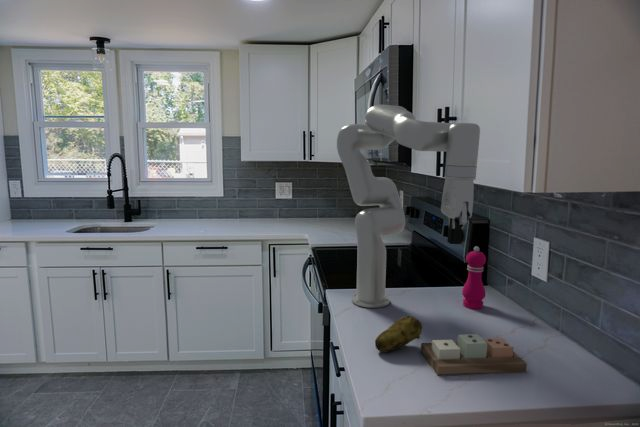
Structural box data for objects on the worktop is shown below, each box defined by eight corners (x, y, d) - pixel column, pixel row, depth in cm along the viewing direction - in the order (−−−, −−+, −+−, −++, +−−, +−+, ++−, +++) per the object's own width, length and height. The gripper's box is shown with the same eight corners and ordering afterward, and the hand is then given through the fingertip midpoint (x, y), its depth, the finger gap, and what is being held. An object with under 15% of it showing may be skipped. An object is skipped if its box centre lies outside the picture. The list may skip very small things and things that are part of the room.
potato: (369, 342, 113) (369, 313, 111) (415, 339, 114) (416, 311, 113) (377, 357, 104) (378, 326, 103) (427, 354, 106) (429, 324, 105)
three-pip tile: (482, 353, 106) (483, 337, 105) (501, 353, 106) (502, 337, 106) (491, 363, 101) (493, 347, 100) (512, 363, 101) (513, 346, 101)
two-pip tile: (457, 350, 105) (458, 333, 104) (476, 349, 105) (477, 333, 105) (465, 359, 100) (466, 343, 99) (486, 359, 101) (487, 342, 100)
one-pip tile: (431, 355, 105) (432, 339, 104) (451, 354, 105) (451, 338, 104) (438, 365, 100) (439, 348, 99) (459, 365, 100) (460, 348, 100)
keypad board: (420, 350, 108) (421, 342, 108) (499, 348, 110) (500, 340, 110) (437, 375, 96) (438, 366, 96) (526, 372, 98) (526, 363, 98)
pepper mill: (481, 302, 143) (485, 244, 140) (487, 310, 136) (491, 249, 133) (459, 301, 144) (462, 243, 141) (464, 309, 137) (468, 248, 134)
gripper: (436, 170, 115) (431, 236, 118) (456, 175, 100) (450, 250, 103) (463, 170, 115) (457, 236, 118) (487, 175, 100) (480, 251, 104)
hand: (454, 243), depth 111 cm, fingers closed
